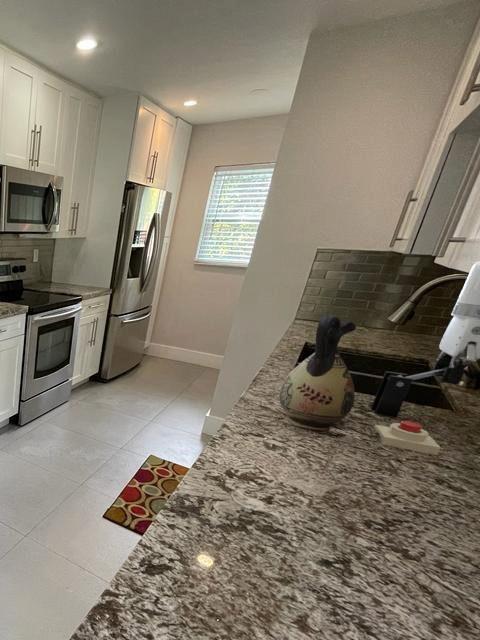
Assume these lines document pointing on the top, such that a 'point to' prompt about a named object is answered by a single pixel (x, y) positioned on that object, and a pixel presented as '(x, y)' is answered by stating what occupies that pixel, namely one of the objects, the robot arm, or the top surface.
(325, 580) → the top surface
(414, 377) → the lever
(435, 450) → the control block
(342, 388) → the ceramic jug
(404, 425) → the button
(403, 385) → the bracket
